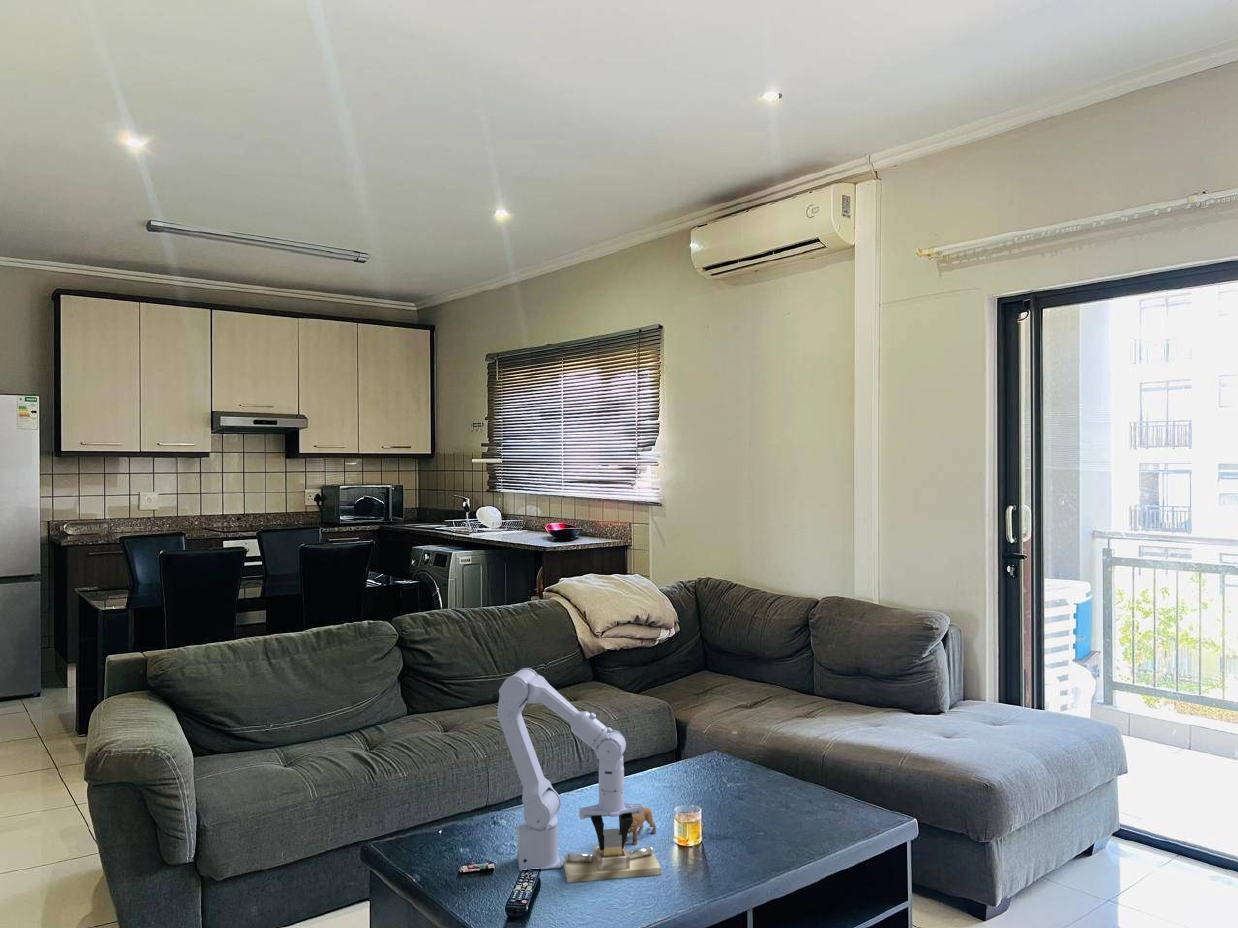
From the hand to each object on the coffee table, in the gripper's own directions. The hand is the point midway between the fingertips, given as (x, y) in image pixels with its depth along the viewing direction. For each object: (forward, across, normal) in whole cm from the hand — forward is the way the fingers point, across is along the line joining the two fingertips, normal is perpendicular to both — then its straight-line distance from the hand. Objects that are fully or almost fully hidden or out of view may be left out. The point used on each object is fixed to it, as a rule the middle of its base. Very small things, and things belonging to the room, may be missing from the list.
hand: (611, 847), depth 199 cm
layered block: (+2, 0, 0) cm, 2 cm away
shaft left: (+3, -7, +2) cm, 8 cm away
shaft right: (+3, +7, +2) cm, 8 cm away
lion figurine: (+5, +9, +15) cm, 18 cm away
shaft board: (+5, 0, 0) cm, 5 cm away
